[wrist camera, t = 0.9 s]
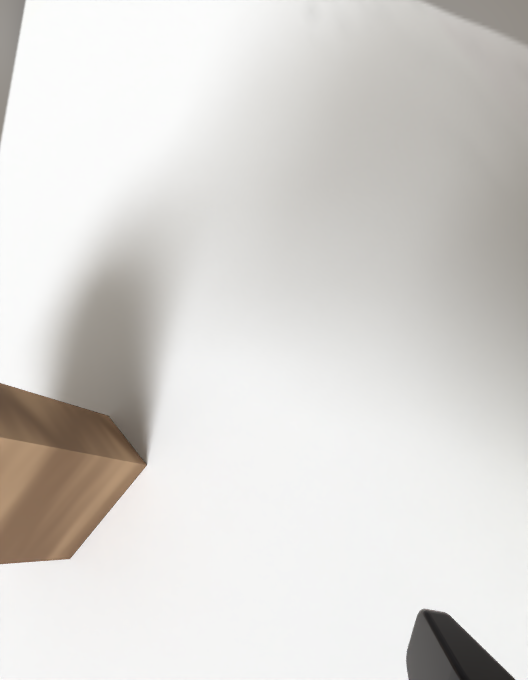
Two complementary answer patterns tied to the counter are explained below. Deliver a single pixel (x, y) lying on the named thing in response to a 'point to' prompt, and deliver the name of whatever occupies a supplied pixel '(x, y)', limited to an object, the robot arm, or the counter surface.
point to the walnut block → (56, 475)
